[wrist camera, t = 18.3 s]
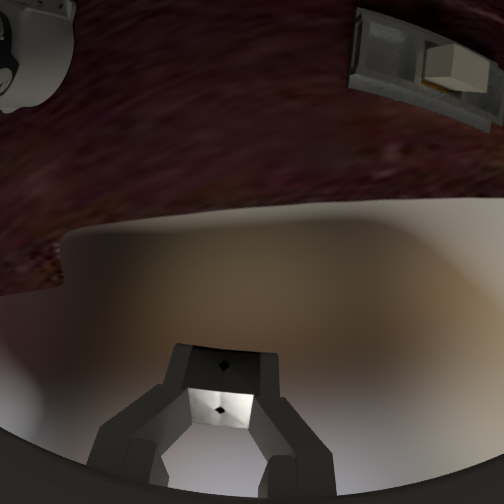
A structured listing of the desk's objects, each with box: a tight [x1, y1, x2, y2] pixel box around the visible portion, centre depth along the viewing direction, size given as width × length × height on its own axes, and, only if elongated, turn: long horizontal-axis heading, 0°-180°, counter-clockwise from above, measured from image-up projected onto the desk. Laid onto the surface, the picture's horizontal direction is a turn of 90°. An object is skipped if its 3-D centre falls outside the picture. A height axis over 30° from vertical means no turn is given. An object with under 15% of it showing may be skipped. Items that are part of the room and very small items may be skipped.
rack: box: [346, 7, 504, 134], centre depth 26 cm, size 20×10×4 cm, turn 84°
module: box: [421, 44, 489, 93], centre depth 23 cm, size 4×4×8 cm
